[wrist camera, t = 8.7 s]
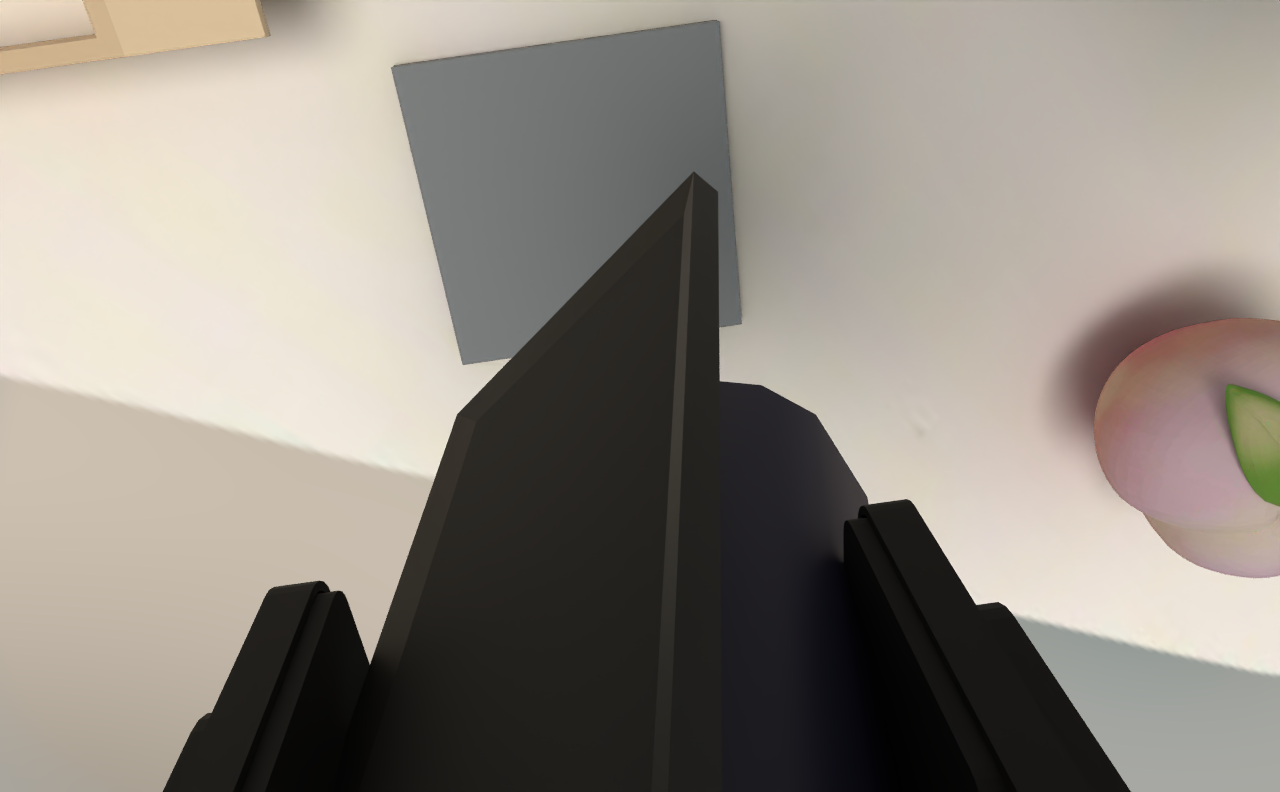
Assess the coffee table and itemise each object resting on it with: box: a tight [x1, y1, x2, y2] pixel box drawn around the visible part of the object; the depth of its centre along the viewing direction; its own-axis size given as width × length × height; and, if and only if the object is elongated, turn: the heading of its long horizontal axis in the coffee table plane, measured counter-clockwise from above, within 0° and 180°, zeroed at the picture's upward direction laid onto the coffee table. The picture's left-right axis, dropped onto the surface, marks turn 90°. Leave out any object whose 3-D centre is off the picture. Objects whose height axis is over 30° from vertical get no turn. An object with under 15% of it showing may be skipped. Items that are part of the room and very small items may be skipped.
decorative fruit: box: [1094, 318, 1280, 578], centre depth 30 cm, size 9×8×10 cm
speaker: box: [334, 172, 903, 792], centre depth 9 cm, size 8×6×10 cm
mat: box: [391, 20, 742, 365], centre depth 29 cm, size 10×10×1 cm
